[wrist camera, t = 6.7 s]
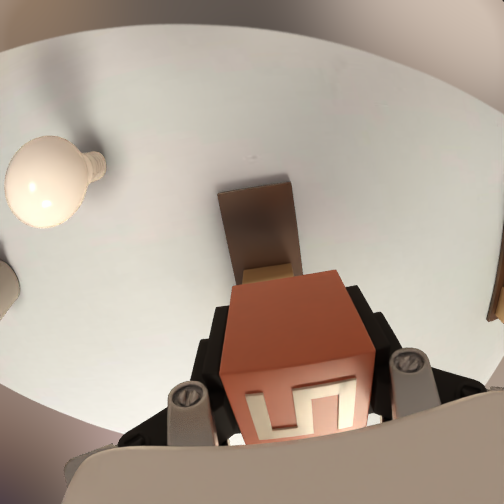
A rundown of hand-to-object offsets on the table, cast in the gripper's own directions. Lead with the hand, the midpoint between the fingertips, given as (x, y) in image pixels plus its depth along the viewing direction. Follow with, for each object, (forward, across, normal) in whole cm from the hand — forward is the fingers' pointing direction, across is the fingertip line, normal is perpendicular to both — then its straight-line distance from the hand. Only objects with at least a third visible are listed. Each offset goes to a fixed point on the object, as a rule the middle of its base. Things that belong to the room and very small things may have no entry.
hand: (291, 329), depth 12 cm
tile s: (+1, 0, 0) cm, 1 cm away
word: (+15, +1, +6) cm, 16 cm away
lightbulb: (+15, +14, -8) cm, 22 cm away
